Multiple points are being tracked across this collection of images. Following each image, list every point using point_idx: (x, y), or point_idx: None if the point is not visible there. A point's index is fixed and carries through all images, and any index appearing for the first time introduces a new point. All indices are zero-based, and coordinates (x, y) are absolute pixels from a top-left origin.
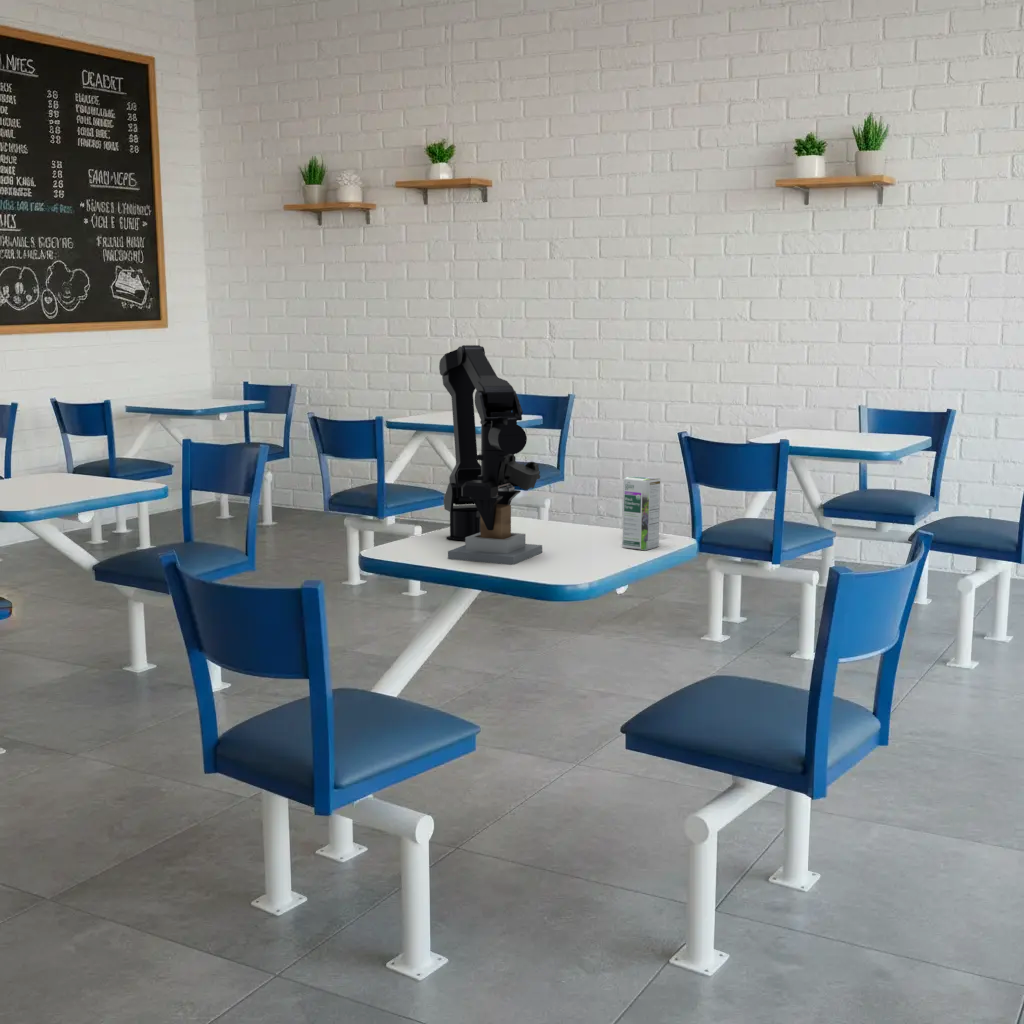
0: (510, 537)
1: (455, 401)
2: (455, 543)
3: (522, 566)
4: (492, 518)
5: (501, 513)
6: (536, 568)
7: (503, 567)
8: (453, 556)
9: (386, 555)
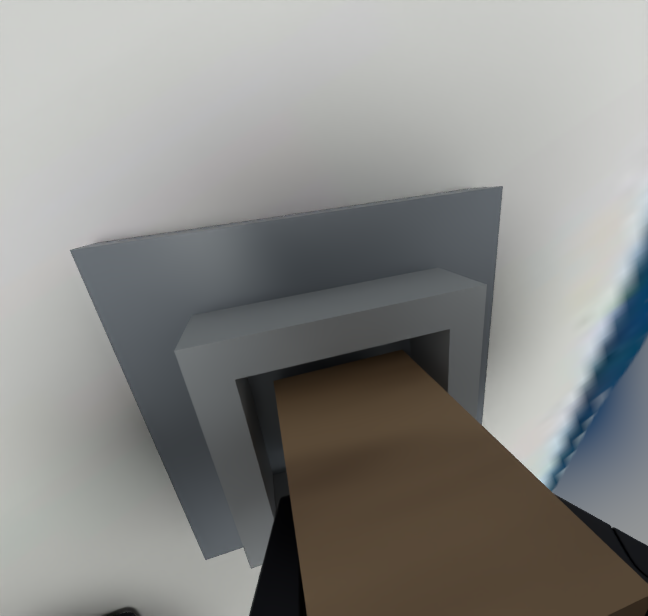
0: (372, 338)
1: None
2: (204, 612)
3: (491, 124)
4: (561, 500)
5: (574, 514)
6: (515, 19)
7: (534, 194)
8: None
9: None
